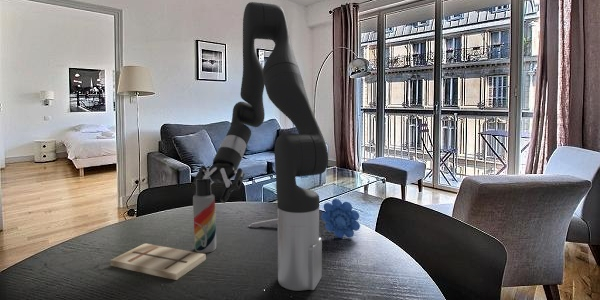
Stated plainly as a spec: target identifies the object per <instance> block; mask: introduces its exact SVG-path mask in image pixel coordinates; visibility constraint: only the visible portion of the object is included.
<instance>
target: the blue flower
mask: <svg viewBox="0 0 600 300" xmlns="http://www.w3.org/2000/svg"><path fill="white" fill-rule="evenodd" d="M323 210H324V211H323V212H321V214H320V218H321V220H322V221H323V222H325V225H324V228H325V230H326V231H328V232H330V233H332V232H333V234H334V235H335V236H336V237H337V238H338V239H342V238H344V236H345V237H346V238H352V237H354V235H355V231H359V230H360V228H361V225H360V223H359V222H358V220H359V219H360V214H359V212H358V211H357V210H356V209H353V206H352V204H351V202H348V201H344V202H342V201H341V200H340V199H339V198H334V199H332V201H331V203H330V202H325V203H324V204H323Z"/></svg>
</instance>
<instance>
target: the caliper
mask: <svg viewBox="0 0 600 300" xmlns="http://www.w3.org/2000/svg"><path fill="white" fill-rule="evenodd" d="M272 225H278V218H273V219H272V218H271V219H267V220H262V221H256V222H251V224H248V226H247V228H262V227H267V226H272Z"/></svg>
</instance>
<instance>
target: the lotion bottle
mask: <svg viewBox="0 0 600 300" xmlns="http://www.w3.org/2000/svg"><path fill="white" fill-rule="evenodd" d="M195 190H196V195H194V194H193V196H192V207H193V213H192V214H193V233H194V250H195V252H196V253H202V254H207V253H211V252H214V251H215V250H216V249H217V228H216V227H217V224H216V222H217V221H216V197H215V194H213V193H212V184H211V178H210V177H209V178H208V179H200V178H199V179H196V184H195Z"/></svg>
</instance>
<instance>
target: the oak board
mask: <svg viewBox="0 0 600 300" xmlns="http://www.w3.org/2000/svg"><path fill="white" fill-rule="evenodd" d="M206 254H207V253H199V252H196V251H190V250H185V249H180V248H174V247H169V246H162V245H156V244H151V243H147V242H146V243H143V244H141V245H139V246H137V247H135V248H132V249H130V250H128V251H126V252H124V253H122V254H120V255H118V256H115V257H114V258H112V259H110V266H111V267H115V268H120V269H124V270H128V271H133V272H138V273H142V274H146V275H151V276H156V277H161V278H165V279H170V280H176V281H177V280H179V279H180V278H182V277H183V276H185V275H186V274H187V273H188V272H190V271H192V270H193V269H195V268H196V267H198V266H199V265H201V264H202V263H203V262H205V261H206V260H207V256H206Z"/></svg>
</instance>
